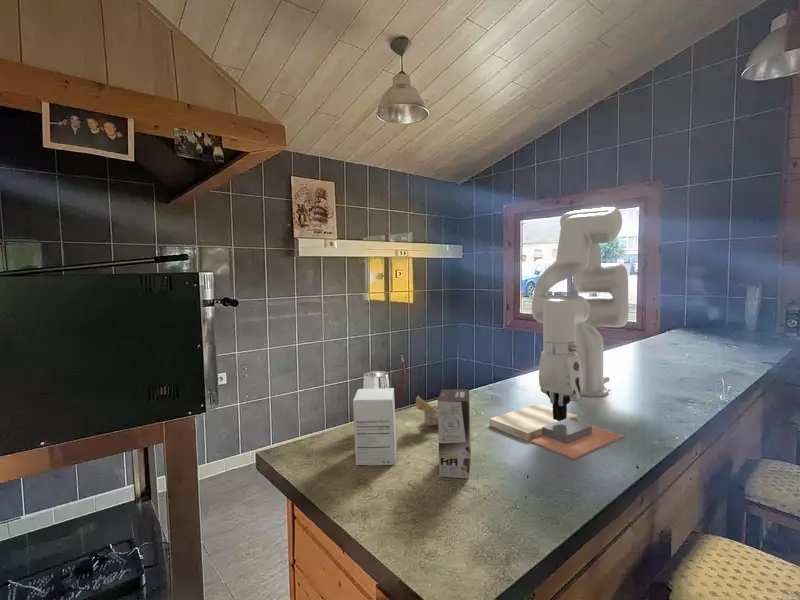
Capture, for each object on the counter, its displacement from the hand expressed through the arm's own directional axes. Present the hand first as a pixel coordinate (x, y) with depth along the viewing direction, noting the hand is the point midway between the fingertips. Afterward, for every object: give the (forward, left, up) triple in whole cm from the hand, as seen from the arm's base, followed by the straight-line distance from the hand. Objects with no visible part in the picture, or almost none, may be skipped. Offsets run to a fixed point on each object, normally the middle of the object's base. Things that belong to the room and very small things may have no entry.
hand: (559, 418), depth 107 cm
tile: (0, +2, -2) cm, 3 cm away
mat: (0, +5, -4) cm, 6 cm away
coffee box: (+33, -1, -4) cm, 34 cm away
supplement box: (+44, -16, -4) cm, 47 cm away
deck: (0, -8, -4) cm, 9 cm away
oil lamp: (+18, -24, -4) cm, 31 cm away
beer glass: (+35, -31, -4) cm, 47 cm away
